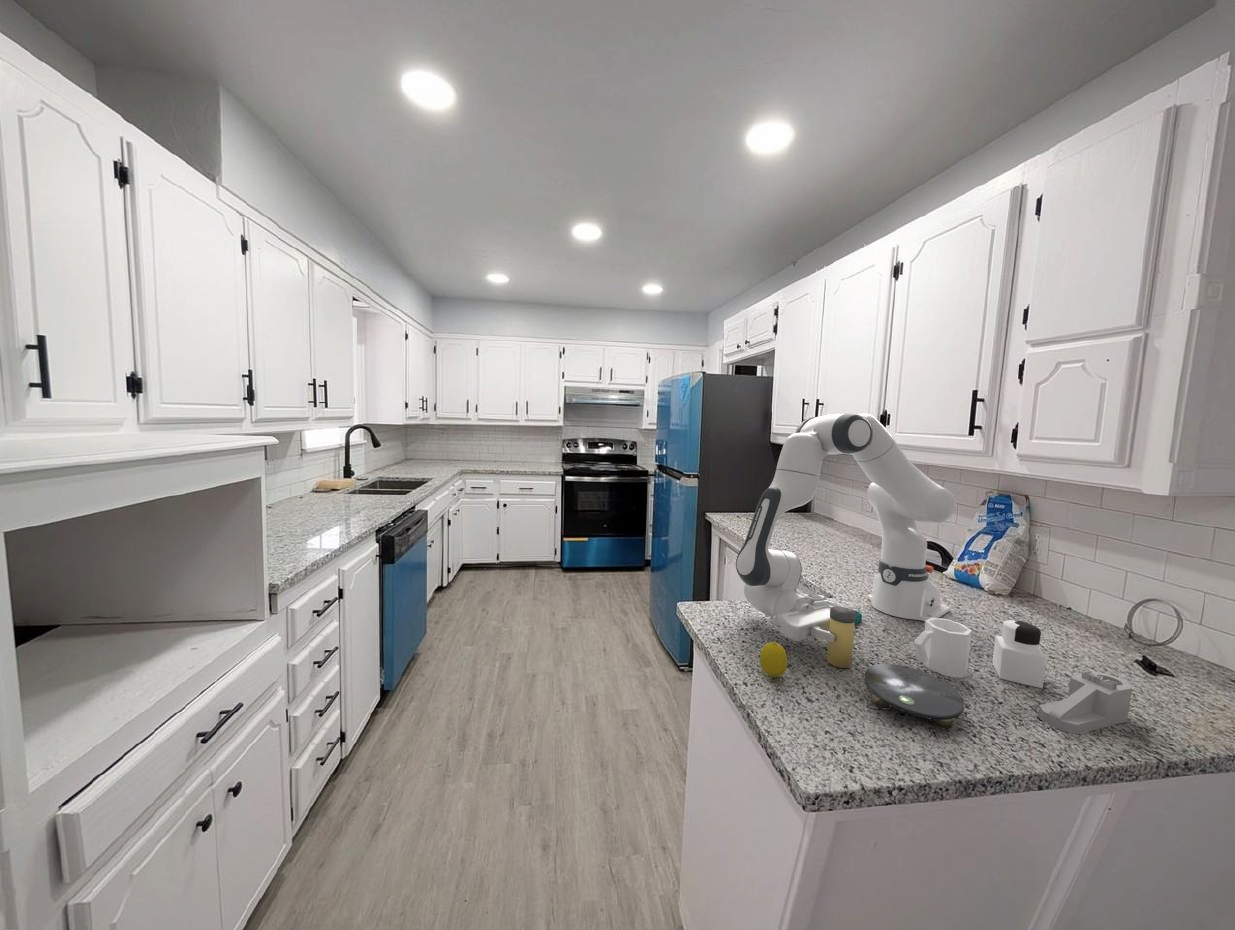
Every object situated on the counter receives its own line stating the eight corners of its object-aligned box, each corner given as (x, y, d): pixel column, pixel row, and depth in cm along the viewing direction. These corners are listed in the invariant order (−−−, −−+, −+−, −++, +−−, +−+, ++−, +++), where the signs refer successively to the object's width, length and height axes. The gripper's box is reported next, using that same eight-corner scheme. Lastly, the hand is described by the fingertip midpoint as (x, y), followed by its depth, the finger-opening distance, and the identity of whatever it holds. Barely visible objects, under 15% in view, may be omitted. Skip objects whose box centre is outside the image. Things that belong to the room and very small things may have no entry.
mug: (941, 655, 105) (945, 616, 104) (977, 676, 97) (982, 633, 96) (899, 660, 103) (903, 619, 102) (932, 681, 94) (936, 637, 93)
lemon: (754, 677, 94) (756, 641, 94) (766, 667, 98) (768, 633, 97) (778, 688, 90) (781, 651, 90) (790, 678, 94) (792, 642, 93)
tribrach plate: (895, 675, 96) (896, 656, 96) (980, 720, 82) (982, 698, 82) (845, 692, 90) (847, 672, 89) (929, 745, 75) (931, 721, 75)
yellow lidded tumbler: (837, 653, 104) (840, 604, 102) (857, 665, 99) (861, 614, 98) (821, 658, 101) (824, 608, 100) (841, 670, 97) (845, 618, 96)
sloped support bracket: (1032, 716, 84) (1037, 676, 83) (1095, 702, 89) (1100, 664, 88) (1070, 736, 78) (1075, 694, 78) (1134, 720, 83) (1140, 680, 83)
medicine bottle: (1032, 673, 98) (1039, 621, 97) (1043, 689, 92) (1050, 634, 91) (991, 663, 102) (997, 614, 101) (999, 678, 96) (1005, 626, 95)
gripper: (765, 606, 106) (812, 631, 94) (824, 593, 115) (874, 614, 103) (764, 631, 107) (810, 659, 95) (823, 616, 116) (872, 640, 103)
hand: (844, 636), depth 99 cm, fingers closed on yellow lidded tumbler, 5 cm apart
